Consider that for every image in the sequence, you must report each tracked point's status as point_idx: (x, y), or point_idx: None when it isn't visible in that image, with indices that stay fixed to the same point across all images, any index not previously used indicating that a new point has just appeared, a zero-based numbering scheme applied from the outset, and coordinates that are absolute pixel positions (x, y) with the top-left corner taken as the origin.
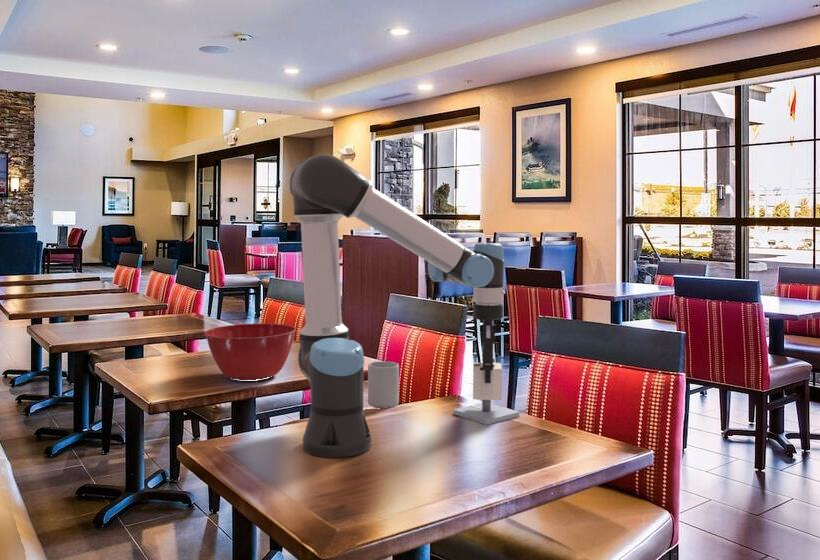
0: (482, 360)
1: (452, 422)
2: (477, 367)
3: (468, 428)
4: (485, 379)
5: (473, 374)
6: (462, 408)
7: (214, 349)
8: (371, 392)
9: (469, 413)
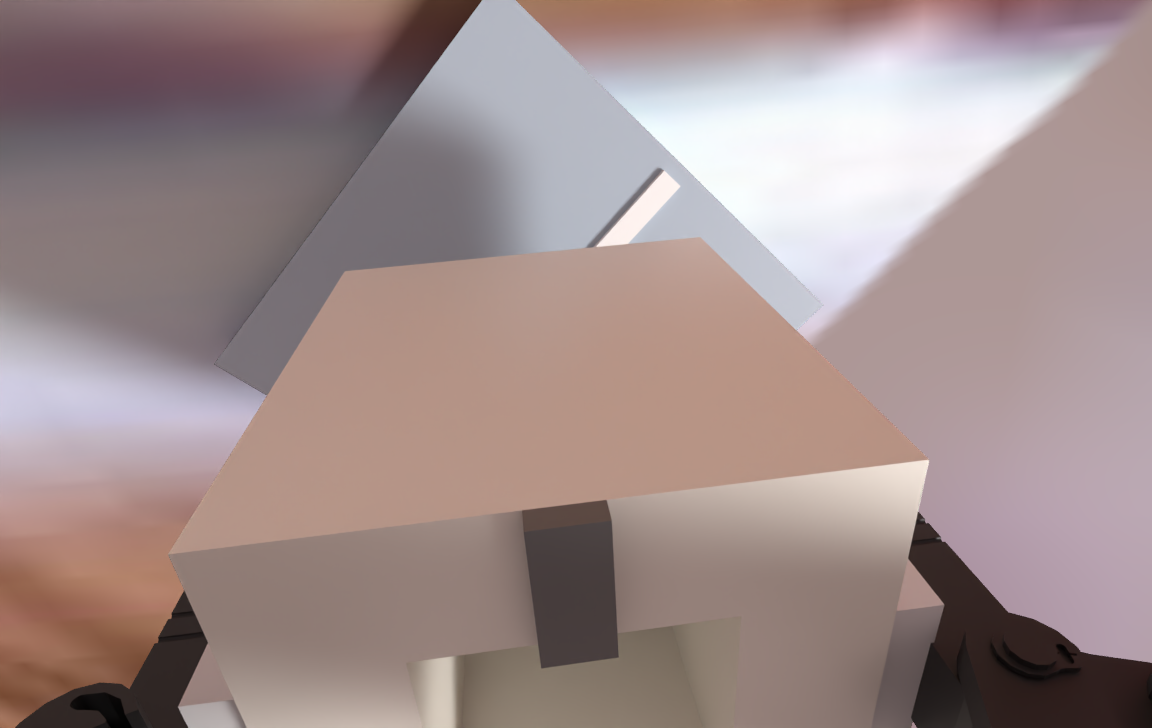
0: (1003, 642)
1: (170, 3)
2: (327, 617)
3: (41, 199)
4: (177, 618)
5: (233, 456)
6: (557, 89)
7: None
8: None
9: (386, 185)
